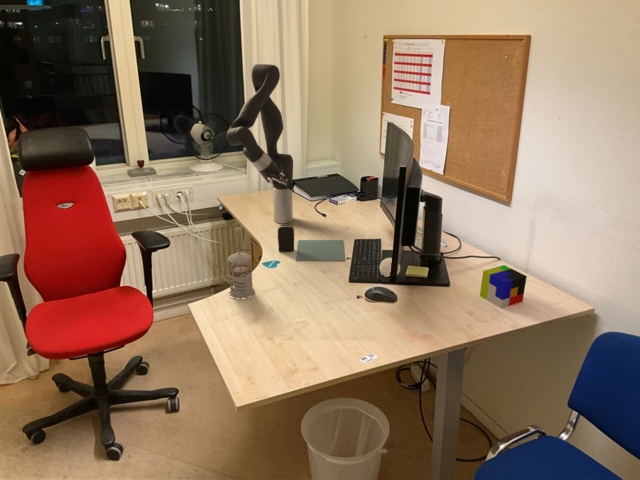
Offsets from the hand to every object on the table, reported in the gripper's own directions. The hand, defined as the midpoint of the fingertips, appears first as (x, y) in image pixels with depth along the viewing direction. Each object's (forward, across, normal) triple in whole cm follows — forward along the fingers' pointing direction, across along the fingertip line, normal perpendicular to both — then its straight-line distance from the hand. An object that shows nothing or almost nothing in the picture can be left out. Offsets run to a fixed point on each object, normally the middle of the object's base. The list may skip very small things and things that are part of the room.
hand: (285, 188), depth 226 cm
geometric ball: (+25, -56, +20) cm, 64 cm away
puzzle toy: (+38, -93, +12) cm, 101 cm away
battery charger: (+12, -10, +24) cm, 29 cm away
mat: (+19, -20, +17) cm, 32 cm away
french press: (-9, -27, +54) cm, 61 cm away
